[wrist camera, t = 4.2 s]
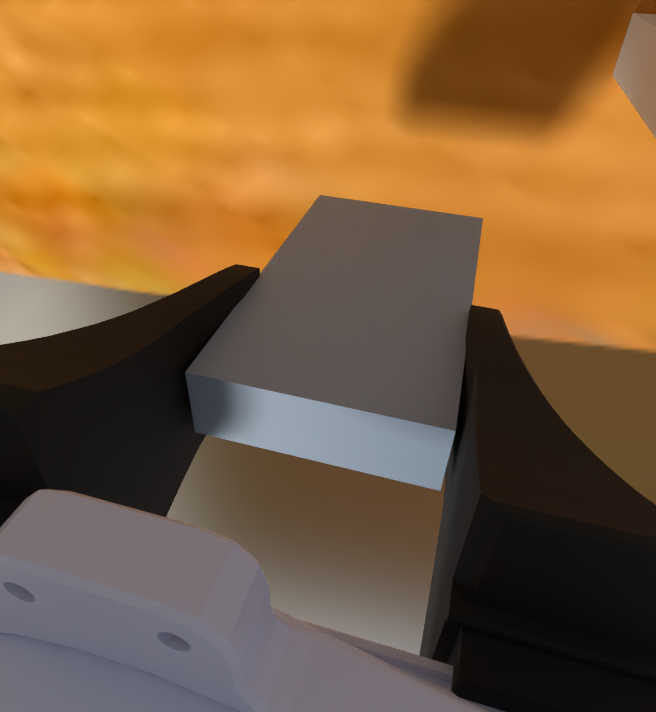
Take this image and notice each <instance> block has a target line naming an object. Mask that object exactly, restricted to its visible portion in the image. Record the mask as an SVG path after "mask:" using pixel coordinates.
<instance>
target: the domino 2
mask: <svg viewBox="0 0 656 712" xmlns="http://www.w3.org/2000/svg"><path fill="white" fill-rule="evenodd" d="M612 76H613V77H614V79H615V80H616V81H617V83H618V84H619V86H620V87H621V89H622V90H623V92H624V93H625V94H626V96H627V97H628V99H629V100H630V102H631V103H632V105H633V106H634V108H635V109H636V110H637V112H638V113H639V115H640V116H641V118H642V119H643V121H644V122H645V123H646V125H647V126H648V128H649V129H650V131H651V132H652V134H653V135H654V137H655V138H656V14H645V13H633V14H632V17H631V20H630V23H629V26H628V29H627V32H626V35H625V38H624V41H623V44H622V48H621V51H620V54H619V57H618V60H617V63H616V66H615V69H614V72H613V75H612Z"/></svg>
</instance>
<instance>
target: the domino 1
mask: <svg viewBox="0 0 656 712" xmlns="http://www.w3.org/2000/svg"><path fill="white" fill-rule="evenodd" d="M482 221H483V218H477V217H470V216H463V215H456V214H449V213H442V212H435V211H428V210H421V209H414V208H407V207H400V206H393V205H386V204H379V203H372V202H365V201H358V200H351V199H344V198H337V197H330V196H323V195H320V196H319V197H318V198H317V200H316V201H315V202H314V204H313V205H312V206H311V208H310V209H309V210H308V212H307V213H306V214H305V215H304V217H303V218H302V219H301V221H300V222H299V223H298V225H297V226H296V227H295V229H294V230H293V231H292V233H291V234H290V235H289V236H288V238H287V239H286V240H285V242H284V243H283V244H282V246H281V247H280V248H279V250H278V251H277V252H276V254H275V255H274V256H273V257H272V259H271V260H270V261H269V263H268V264H267V265H266V267H265V268H264V269H263V271H262V272H261V273H260V277H259V278H258V279H257V281H256V282H255V283H254V285H253V286H252V287H251V289H250V290H249V291H248V293H247V294H246V295H245V297H244V298H243V299H242V300H241V301H240V302H239V303H238V304H237V305H236V306H235V307H234V309H233V310H232V311H231V313H230V314H229V315H228V317H227V318H226V319H225V321H224V322H223V323H222V324H221V326H220V327H219V328H218V330H217V331H216V332H215V334H214V335H213V336H212V338H211V339H210V340H209V342H208V343H207V344H206V345H205V347H204V348H203V349H202V351H201V352H200V353H199V355H198V356H197V357H196V359H195V360H194V361H193V363H192V364H191V365H190V366H189V368H188V369H187V370H186V372H185V374H186V380H187V386H188V392H189V398H190V404H191V410H192V416H193V422H194V428H195V432H197V433H201V434H206V435H210V436H214V437H218V438H222V439H227V440H231V441H235V442H239V443H243V444H248V445H252V446H256V447H261V448H264V449H269V450H272V451H277V452H281V453H285V454H289V455H294V456H297V457H302V458H306V459H310V460H314V461H319V462H323V463H327V464H331V465H336V466H339V467H344V468H348V469H352V470H356V471H360V472H364V473H369V474H373V475H377V476H381V477H386V478H389V479H394V480H398V481H402V482H406V483H410V484H414V485H419V486H423V487H427V488H431V489H436V490H440V489H441V485H442V482H443V478H444V474H445V470H446V466H447V463H448V459H449V455H450V451H451V447H452V443H453V440H454V436H455V432H456V425H457V417H458V409H459V401H460V394H461V386H462V378H463V370H464V362H465V354H466V342H465V338H466V331H467V323H468V315H469V310H470V306H471V305H472V299H473V291H474V284H475V276H476V268H477V260H478V252H479V244H480V236H481V229H482Z"/></svg>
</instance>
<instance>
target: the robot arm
mask: <svg viewBox="0 0 656 712" xmlns="http://www.w3.org/2000/svg"><path fill="white" fill-rule="evenodd" d="M259 277H260V269H259V268H255V267H249V266H243V265H237V264H236V265H233V266H230V267H228V268H226V269H223V270H221V271H219V272H217V273H215V274H213V275H211V276H209V277H207V278H205V279H203V280H200V281H198V282H196V283H194V284H192V285H190V286H188V287H186V288H184V289H182V290H180V291H178V292H176V293H174V294H172V295H169V296H167V297H165V298H162V299H160V300H158V301H156V302H153V303H151V304H149V305H146V306H144V307H142V308H139V309H137V310H134V311H132V312H129V313H127V314H124V315H121V316H118V317H115V318H113V319H109V320H106V321H103V322H100V323H97V324H94V325H90V326H87V327H83V328H79V329H75V330H71V331H67V332H63V333H59V334H55V335H52V336H48V337H42V338H37V339H32V340H27V341H21V342H15V343H9V344H3V345H0V712H656V505H655V504H654V503H652V502H651V501H649V500H648V499H646V498H645V497H644V496H643V495H641V494H640V493H639V492H637V491H636V490H635V489H633V488H632V487H631V486H630V485H629V484H627V483H626V482H625V481H624V480H623V479H622V478H620V477H619V476H618V475H617V474H616V473H615V472H613V471H612V470H611V469H610V468H609V467H608V466H607V465H605V464H604V463H603V462H602V461H601V460H600V459H599V458H598V457H597V456H596V455H595V454H594V453H593V452H592V451H591V450H590V449H589V448H588V447H587V446H586V445H585V444H584V443H583V442H582V441H581V440H580V439H579V438H578V437H577V436H576V435H575V434H574V433H573V432H572V431H571V429H570V428H569V427H568V426H567V425H566V424H565V423H564V421H563V420H562V419H561V418H560V417H559V416H558V414H557V413H556V412H555V410H554V409H553V408H552V407H551V405H550V404H549V403H548V401H547V400H546V398H545V397H544V395H543V394H542V392H541V391H540V389H539V388H538V386H537V384H536V383H535V382H534V380H533V378H532V376H531V375H530V373H529V371H528V370H527V368H526V366H525V364H524V362H523V360H522V359H521V357H520V355H519V353H518V351H517V349H516V347H515V345H514V343H513V341H512V338H511V336H510V334H509V332H508V329H507V327H506V324H505V322H504V319H503V316H502V314H501V313H500V311H499V310H497V309H492V308H486V307H480V306H474V305H471V306H470V310H469V315H468V323H467V331H466V338H465V342H466V354H465V362H464V370H463V378H462V386H461V394H460V401H459V409H458V417H457V425H456V432H455V436H454V440H453V443H452V447H451V451H450V455H449V459H448V463H447V466H446V471H445V492H444V502H443V511H442V518H441V525H440V531H439V537H438V544H437V550H436V557H435V563H434V570H433V576H432V582H431V589H430V595H429V601H428V607H427V613H426V619H425V625H424V631H423V638H422V643H421V649H420V655H419V656H418V655H415V654H412V653H409V652H406V651H402V650H399V649H396V648H392V647H389V646H385V645H382V644H379V643H375V642H372V641H368V640H365V639H362V638H358V637H355V636H352V635H349V634H345V633H342V632H339V631H335V630H332V629H329V628H325V627H322V626H318V625H315V624H312V623H308V622H305V621H302V620H298V619H296V618H294V617H292V616H290V615H288V614H286V613H284V612H282V611H280V610H278V609H276V608H273V607H271V606H270V591H269V584H268V582H267V580H266V578H265V576H264V574H263V572H262V570H261V568H260V566H259V564H258V562H257V560H256V559H255V558H254V557H253V556H252V555H250V554H249V553H248V552H247V551H245V550H244V549H243V548H242V547H241V546H240V545H238V544H237V543H236V542H234V541H233V540H231V539H229V538H226V537H224V536H222V535H220V534H217V533H215V532H213V531H210V530H208V529H206V528H203V527H199V526H196V525H192V524H188V523H185V522H181V521H177V520H174V519H170V518H167V517H166V516H167V513H168V511H169V509H170V507H171V505H172V502H173V500H174V498H175V496H176V494H177V492H178V489H179V487H180V485H181V483H182V481H183V479H184V476H185V474H186V472H187V470H188V468H189V466H190V464H191V462H192V460H193V458H194V456H195V454H196V452H197V450H198V448H199V446H200V444H201V442H202V441H203V439H204V438H205V436H206V434H201V433H197V432H195V428H194V422H193V416H192V410H191V404H190V398H189V392H188V386H187V380H186V374H185V372H186V370H187V369H188V368H189V366H190V365H191V364H192V363H193V361H194V360H195V359H196V357H197V356H198V355H199V353H200V352H201V351H202V349H203V348H204V347H205V345H206V344H207V343H208V342H209V340H210V339H211V338H212V336H213V335H214V334H215V332H216V331H217V330H218V328H219V327H220V326H221V324H222V323H223V322H224V321H225V319H226V318H227V317H228V315H229V314H230V313H231V311H232V310H233V309H234V307H235V306H236V305H237V304H238V303H239V302H240V301H241V300H242V299H243V298H244V297H245V295H246V294H247V293H248V291H249V290H250V289H251V287H252V286H253V285H254V283H255V282H256V281H257V279H258V278H259Z"/></svg>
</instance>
